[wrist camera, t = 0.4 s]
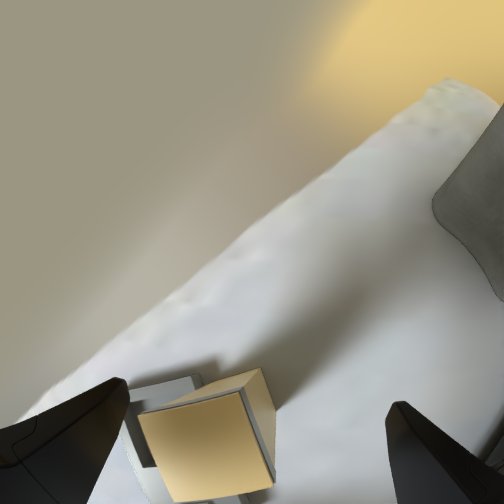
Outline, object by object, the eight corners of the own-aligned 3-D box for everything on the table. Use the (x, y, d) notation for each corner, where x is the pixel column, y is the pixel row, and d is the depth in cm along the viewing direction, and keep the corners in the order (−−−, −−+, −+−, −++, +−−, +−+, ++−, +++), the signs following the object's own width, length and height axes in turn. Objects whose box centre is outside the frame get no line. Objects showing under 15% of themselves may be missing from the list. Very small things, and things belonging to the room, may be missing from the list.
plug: (276, 411, 21) (275, 487, 8) (229, 425, 21) (173, 503, 8) (260, 366, 22) (237, 391, 9) (213, 381, 22) (136, 414, 9)
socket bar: (253, 508, 18) (249, 525, 15) (172, 517, 18) (162, 532, 15) (199, 373, 23) (188, 376, 20) (120, 391, 22) (102, 395, 19)
